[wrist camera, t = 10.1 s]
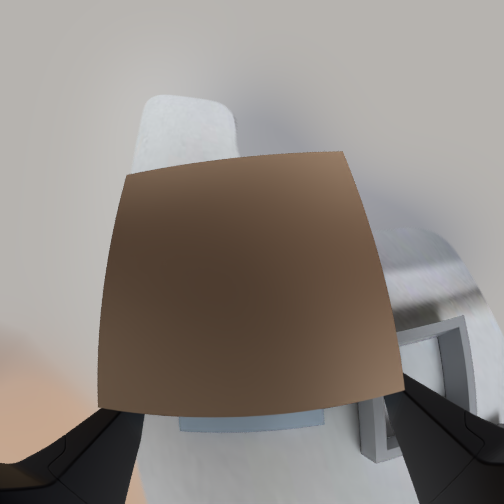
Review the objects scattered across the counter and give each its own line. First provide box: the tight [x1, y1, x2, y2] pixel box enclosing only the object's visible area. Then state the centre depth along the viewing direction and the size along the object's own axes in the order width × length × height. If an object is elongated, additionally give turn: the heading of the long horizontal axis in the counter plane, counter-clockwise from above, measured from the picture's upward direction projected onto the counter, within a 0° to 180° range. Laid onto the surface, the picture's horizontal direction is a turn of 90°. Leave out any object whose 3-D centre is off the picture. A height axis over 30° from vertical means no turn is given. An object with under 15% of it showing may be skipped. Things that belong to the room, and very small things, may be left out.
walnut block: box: [98, 151, 405, 417], centre depth 11 cm, size 5×5×14 cm
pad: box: [179, 409, 325, 432], centre depth 17 cm, size 10×9×1 cm
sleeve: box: [358, 315, 477, 464], centre depth 14 cm, size 8×8×3 cm
